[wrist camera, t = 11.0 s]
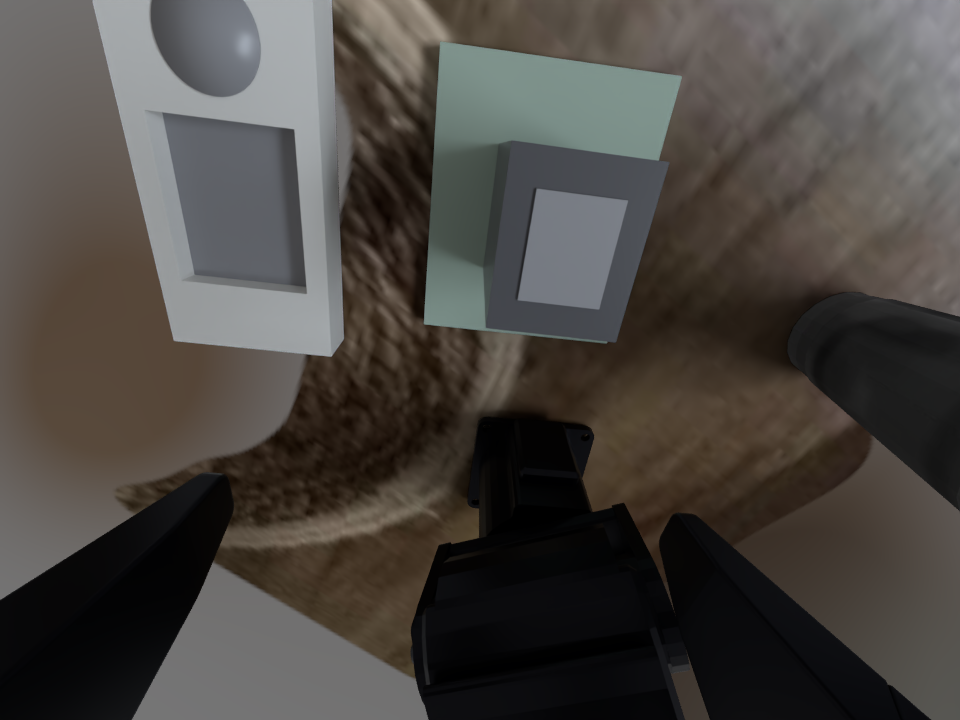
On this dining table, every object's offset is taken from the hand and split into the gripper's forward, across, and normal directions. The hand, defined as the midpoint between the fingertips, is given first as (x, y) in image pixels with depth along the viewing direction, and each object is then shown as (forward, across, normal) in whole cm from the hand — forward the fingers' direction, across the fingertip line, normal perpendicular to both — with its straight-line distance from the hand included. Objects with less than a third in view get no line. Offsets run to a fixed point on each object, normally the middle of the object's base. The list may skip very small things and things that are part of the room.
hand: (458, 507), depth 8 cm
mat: (+13, -3, -4) cm, 14 cm away
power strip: (+14, +10, -6) cm, 18 cm away
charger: (+12, -3, -4) cm, 13 cm away
